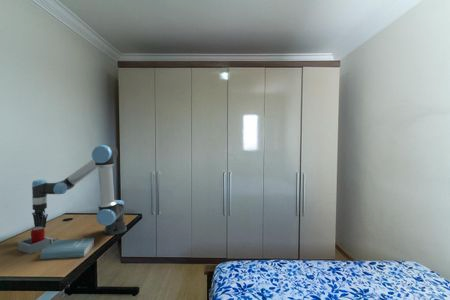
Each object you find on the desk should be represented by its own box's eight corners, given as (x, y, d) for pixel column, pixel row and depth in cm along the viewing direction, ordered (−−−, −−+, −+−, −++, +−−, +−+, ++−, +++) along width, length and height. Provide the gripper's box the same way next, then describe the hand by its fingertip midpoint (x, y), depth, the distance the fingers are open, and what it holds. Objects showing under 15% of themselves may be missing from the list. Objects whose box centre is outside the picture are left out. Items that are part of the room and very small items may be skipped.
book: (94, 245, 153) (94, 238, 153) (84, 257, 138) (83, 249, 137) (55, 247, 150) (55, 240, 149) (40, 260, 134) (40, 251, 134)
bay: (58, 244, 153) (58, 236, 153) (31, 254, 139) (31, 246, 139) (44, 240, 159) (44, 233, 158) (17, 250, 145) (17, 242, 144)
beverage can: (37, 244, 153) (37, 225, 153) (47, 244, 153) (47, 226, 152) (28, 248, 146) (27, 229, 146) (38, 249, 146) (38, 230, 145)
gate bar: (53, 243, 154) (53, 237, 154) (51, 244, 153) (51, 238, 153) (42, 240, 159) (42, 234, 159) (39, 240, 158) (39, 235, 157)
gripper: (51, 202, 159) (52, 237, 160) (39, 200, 164) (40, 234, 165) (39, 205, 152) (40, 241, 153) (27, 203, 157) (27, 238, 158)
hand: (40, 237), depth 159 cm, fingers closed
